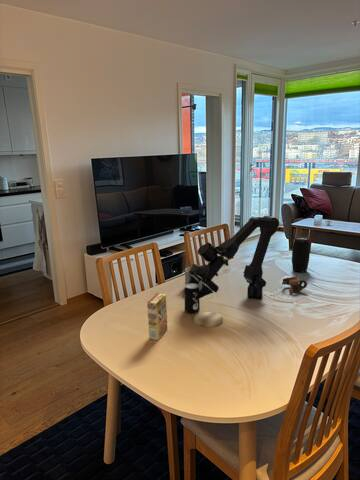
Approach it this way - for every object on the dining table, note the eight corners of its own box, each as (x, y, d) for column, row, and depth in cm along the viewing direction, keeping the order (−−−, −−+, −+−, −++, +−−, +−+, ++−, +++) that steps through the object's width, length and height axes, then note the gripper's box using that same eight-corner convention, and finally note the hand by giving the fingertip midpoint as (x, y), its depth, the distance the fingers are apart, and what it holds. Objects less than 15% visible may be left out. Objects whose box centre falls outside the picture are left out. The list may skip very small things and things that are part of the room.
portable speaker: (288, 268, 209) (290, 236, 204) (303, 267, 210) (306, 235, 205) (295, 273, 201) (297, 239, 196) (311, 272, 202) (313, 239, 197)
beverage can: (189, 315, 154) (188, 289, 151) (182, 309, 160) (181, 284, 157) (202, 312, 157) (202, 286, 154) (194, 306, 163) (194, 281, 160)
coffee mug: (195, 293, 177) (195, 274, 174) (181, 288, 184) (181, 269, 181) (213, 286, 186) (213, 267, 183) (199, 281, 193) (199, 263, 190)
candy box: (158, 340, 135) (157, 303, 131) (148, 338, 136) (146, 301, 132) (167, 329, 143) (166, 294, 139) (158, 328, 144) (156, 292, 140)
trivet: (225, 315, 154) (225, 313, 153) (219, 328, 143) (219, 327, 142) (198, 312, 157) (198, 310, 157) (190, 324, 146) (190, 323, 146)
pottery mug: (283, 295, 174) (280, 278, 176) (284, 296, 183) (281, 280, 185) (309, 291, 170) (305, 274, 173) (309, 292, 179) (305, 276, 181)
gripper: (191, 251, 163) (170, 278, 161) (212, 263, 146) (188, 293, 145) (207, 265, 168) (186, 291, 166) (228, 278, 151) (205, 307, 150)
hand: (190, 295), depth 156 cm, fingers open, 9 cm apart
